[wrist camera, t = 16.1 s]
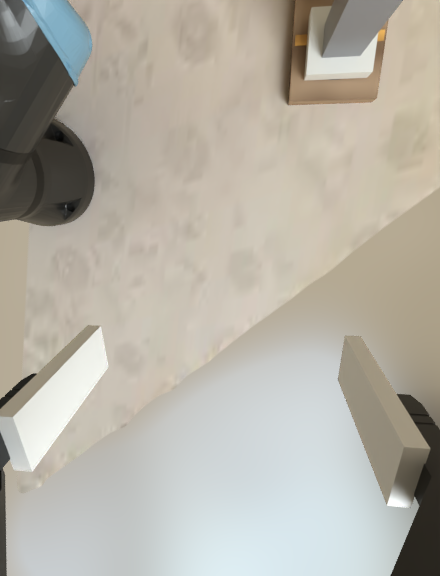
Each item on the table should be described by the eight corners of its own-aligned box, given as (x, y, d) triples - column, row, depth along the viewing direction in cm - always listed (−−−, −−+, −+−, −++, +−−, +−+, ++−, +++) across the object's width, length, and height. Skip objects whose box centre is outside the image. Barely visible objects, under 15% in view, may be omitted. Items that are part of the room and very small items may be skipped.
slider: (366, 77, 34) (430, 13, 21) (303, 80, 35) (327, 20, 22) (375, 12, 32) (451, -103, 19) (308, 17, 33) (338, -90, 20)
